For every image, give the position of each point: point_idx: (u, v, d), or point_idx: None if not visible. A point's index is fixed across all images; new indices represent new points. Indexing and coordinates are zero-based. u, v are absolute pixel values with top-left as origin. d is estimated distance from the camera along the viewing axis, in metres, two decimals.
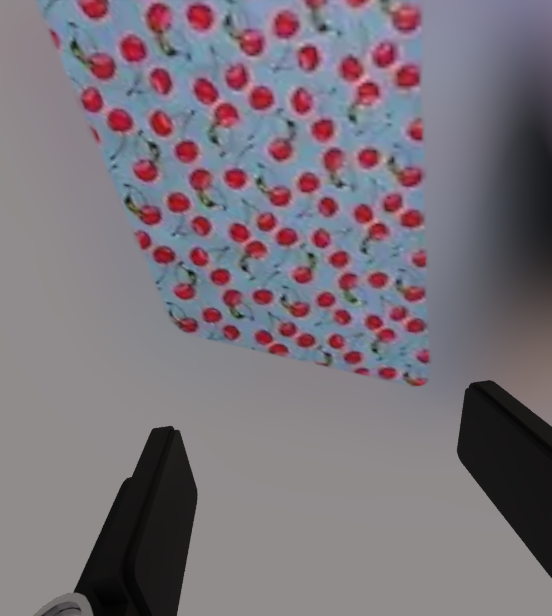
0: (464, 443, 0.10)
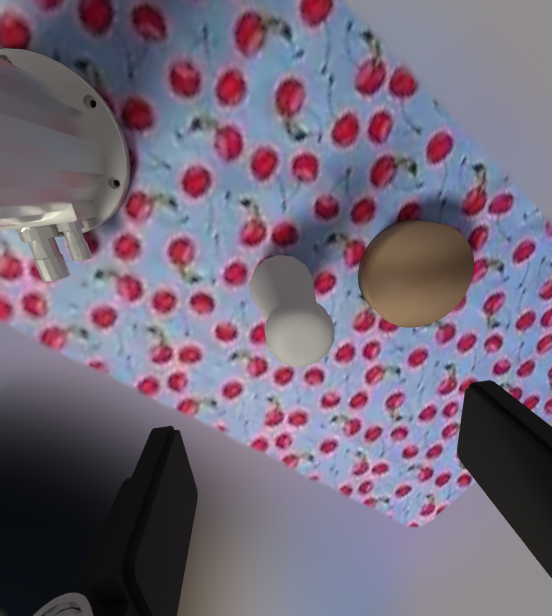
0: (464, 443, 0.10)
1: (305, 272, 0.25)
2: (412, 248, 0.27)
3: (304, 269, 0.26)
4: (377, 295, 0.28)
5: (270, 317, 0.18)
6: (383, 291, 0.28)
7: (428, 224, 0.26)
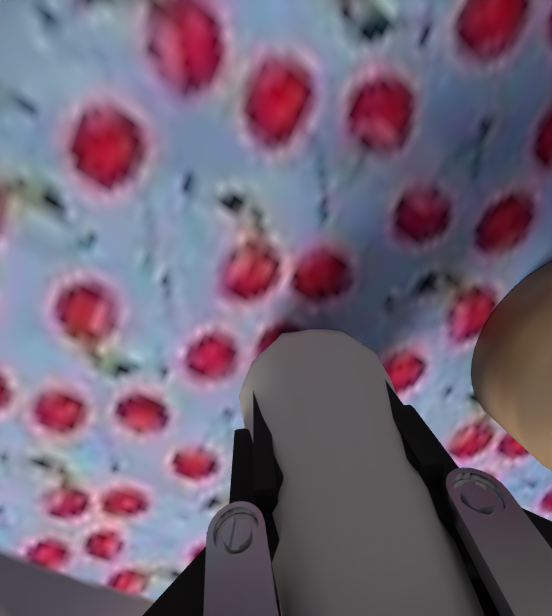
0: None
1: None
2: None
3: (380, 377, 0.10)
4: (538, 420, 0.12)
5: None
6: None
7: None
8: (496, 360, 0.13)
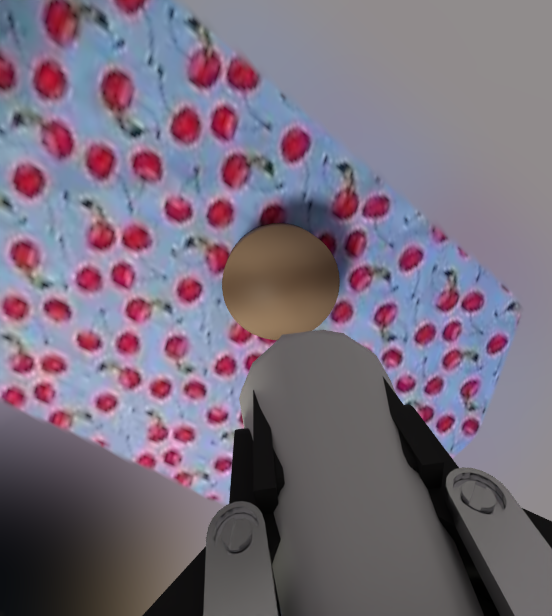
0: None
1: None
2: (264, 253, 0.25)
3: (381, 378, 0.10)
4: (233, 304, 0.26)
5: None
6: (239, 301, 0.26)
7: (278, 228, 0.24)
8: None
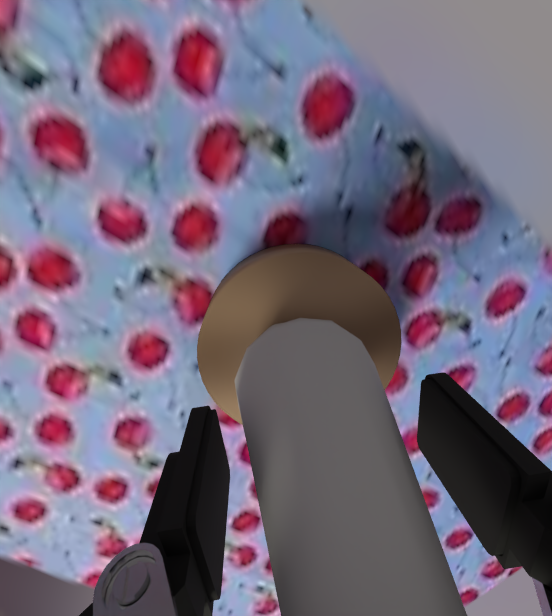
0: (422, 431, 0.10)
1: (369, 371, 0.10)
2: (272, 302, 0.14)
3: (364, 359, 0.11)
4: (218, 385, 0.15)
5: None
6: (228, 379, 0.15)
7: (297, 257, 0.13)
8: None
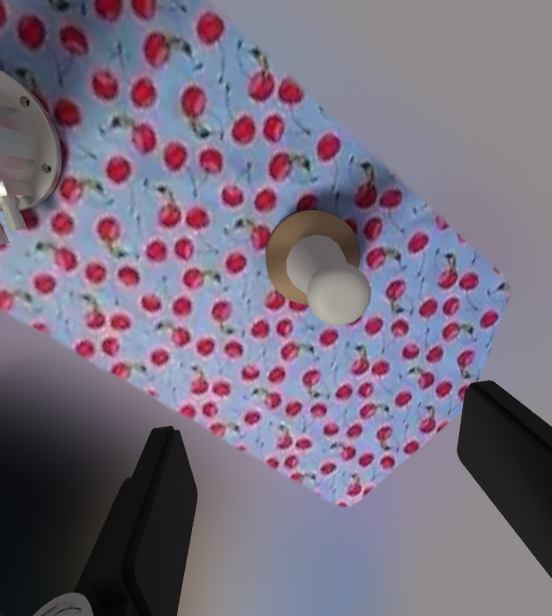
0: (464, 443, 0.10)
1: (339, 250, 0.27)
2: (301, 232, 0.31)
3: (338, 248, 0.28)
4: (274, 273, 0.32)
5: (313, 278, 0.20)
6: (279, 270, 0.32)
7: (313, 211, 0.30)
8: None
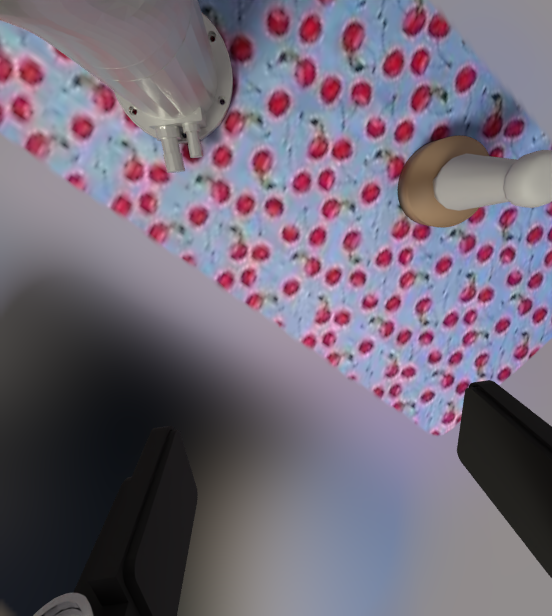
0: (465, 443, 0.10)
1: None
2: (444, 156, 0.34)
3: None
4: (415, 197, 0.36)
5: (519, 164, 0.24)
6: (419, 194, 0.36)
7: (457, 136, 0.34)
8: (403, 181, 0.37)
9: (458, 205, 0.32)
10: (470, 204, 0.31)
